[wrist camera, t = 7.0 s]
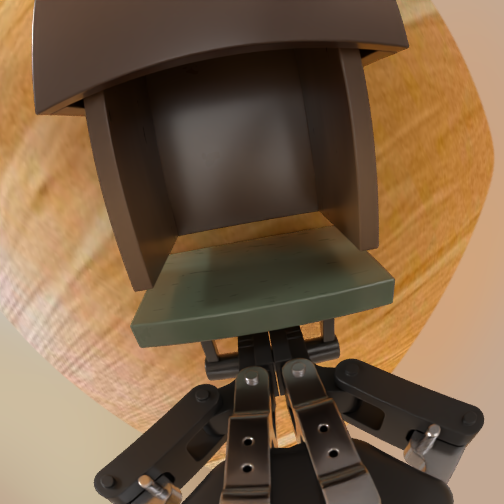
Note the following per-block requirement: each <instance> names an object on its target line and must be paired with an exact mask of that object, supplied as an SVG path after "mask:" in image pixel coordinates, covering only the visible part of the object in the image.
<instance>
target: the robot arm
mask: <svg viewBox="0 0 504 504" xmlns="http://www.w3.org/2000/svg"><path fill="white" fill-rule="evenodd" d="M269 334H270V339H271V345H272V351H273V356H274V362H275V367H276V373H277V378H278V384H279V390H280V395H285V398H286V403H287V409H288V413H289V416H290V419H291V423H292V426H293V430H294V433H295V436H296V440H297V445H295V446H292V447H290V448H278V442H277V423H276V409H275V408H276V401H275V397H276V396H279V392H278V387H277V381H276V375H275V369H274V364H273V358H272V352H271V346H270V341H269V335H268V331H267V332H262V333H256V334H250V335H244V336H238V358H239V373H238V374H237V376H236V379H235V380H234V381H233V382H231V383H230V384H228V385H226V386H223V387H221V388H218V389H217V388H216V387H215V386H213V385H210V384H202V385H198V386H196V387H194V388H193V389H192V390H191V391H190V392H188V393H187V394H186V395H185V396H184V397H183V398H182V399H181V400H180V401H179V402H178V403H177V404H176V405H175V406H174V407H173V408H171V409H170V410H169V411H168V412H167V413H166V414H165V415H164V416H163V417H162V418H161V419H159V420H158V421H157V422H156V423H155V424H154V425H153V426H152V427H151V428H150V429H148V430H147V431H146V432H145V433H144V434H143V435H142V436H141V437H139V438H138V439H137V440H136V441H135V442H134V443H133V444H131V445H130V446H129V447H128V448H127V449H126V450H124V451H123V452H122V453H121V454H120V455H119V456H117V457H116V458H115V459H114V460H113V461H111V462H110V463H109V464H108V465H107V466H105V467H104V468H103V469H102V470H101V471H99V472H98V473H97V475H96V476H95V479H94V487H95V489H96V491H97V492H98V493H99V494H100V495H101V496H103V497H105V498H106V499H108V500H109V501H110V502H111V503H113V504H180V503H181V501H182V493H181V491H180V489H181V488H182V487H183V486H184V485H185V484H186V483H187V482H188V481H189V480H190V479H191V478H192V477H193V476H194V475H195V474H196V473H197V472H198V471H199V470H200V469H201V468H202V467H203V466H204V465H205V464H206V463H207V462H208V461H209V460H210V459H211V457H212V456H213V455H214V454H215V453H216V452H217V451H218V450H219V449H220V448H221V447H222V445H223V444H224V443H225V442H226V441H227V446H226V459H225V461H223V462H221V463H220V464H218V465H217V466H216V467H215V468H214V469H213V470H212V471H211V472H210V473H209V474H208V475H207V476H206V477H205V479H204V480H203V481H202V482H201V483H200V484H199V485H198V486H197V487H196V489H195V490H194V491H193V492H192V493H191V494H190V495H189V496H188V497H187V498H186V499H185V501H183V502H182V504H453V502H454V500H453V495H452V492H451V490H450V488H449V487H448V485H447V483H448V481H449V479H450V478H451V476H452V474H453V472H454V470H455V468H456V466H457V464H458V462H459V460H460V458H461V456H462V454H463V452H464V450H465V448H466V447H467V445H468V444H469V443H470V442H471V441H472V439H473V438H474V437H475V436H476V434H477V433H478V432H479V431H480V429H481V428H482V426H483V424H484V416H483V413H482V411H481V410H480V409H479V408H477V407H476V406H473V405H470V404H467V403H465V402H462V401H459V400H456V399H454V398H450V397H448V396H446V395H443V394H440V393H438V392H435V391H433V390H430V389H427V388H425V387H422V386H420V385H417V384H415V383H412V382H410V381H408V380H405V379H403V378H400V377H398V376H395V375H393V374H391V373H388V372H386V371H384V370H381V369H379V368H377V367H374V366H372V365H370V364H367V363H365V362H363V361H361V360H358V359H346V360H344V361H342V362H340V363H339V364H338V365H337V366H336V368H330V367H321V366H318V365H316V364H314V363H313V362H312V361H311V359H310V357H309V354H308V351H307V348H306V345H305V342H304V339H303V335H302V332H301V329H300V326H294V327H289V328H284V329H278V330H273V331H269ZM343 420H344V421H346V422H348V423H350V424H352V425H354V426H355V427H357V428H359V429H361V430H363V431H365V432H367V433H369V434H371V435H373V436H375V437H377V438H379V439H381V440H383V441H385V442H387V443H389V444H391V445H393V446H396V447H398V448H400V449H402V450H404V458H405V460H406V462H407V463H409V464H410V465H412V466H413V467H412V466H410V465H408V464H406V463H404V462H402V461H400V460H398V459H396V458H394V457H392V456H391V455H389V454H387V453H385V452H383V451H381V450H379V449H377V448H376V447H374V446H372V445H370V444H369V443H367V442H364V441H362V440H358V439H353V438H351V437H350V434H349V432H348V430H347V428H346V425H345V423H344V421H343Z"/></svg>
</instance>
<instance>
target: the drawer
mask: <svg viewBox="0 0 504 504" xmlns="http://www.w3.org/2000/svg"><path fill="white" fill-rule="evenodd" d="M83 100H84V107H85V113H86V119H87V125H88V131H89V136H90V142H91V147H92V151H93V156H94V161H95V165H96V170H97V174H98V178H99V182H100V186H101V190H102V194H103V198H104V201H105V205H106V208H107V212H108V215H109V219H110V222H111V226H112V229H113V232H114V235H115V238H116V241H117V245H118V248H119V251H120V253H121V256H122V259H123V262H124V265H125V268H126V271H127V273H128V276H129V279H130V281H131V284H132V287H133V289H134V291H135V292H136V291H142V290H147V291H146V293H145V295H144V297H143V299H142V301H141V303H140V305H139V307H138V310H137V312H136V314H135V316H134V318H133V320H132V323H131V325H130V327H131V329H132V332H133V334H134V336H135V338H136V340H137V342H138V344H139V346H140V347H141V348H146V347H157V346H167V345H177V344H186V343H194V342H201V345H202V348H203V350H204V353H205V356H206V357H205V370H206V374H207V377H208V379H209V380H210V381H214V380H222V379H230V378H236V376H237V374H238V373H239V358H238V352H233V353H226V354H219V352H218V349H217V346H216V343H215V340H217V339H224V338H231V337H237V336H244V335H250V334H256V333H262V332H267V331H273V330H278V329H284V328H289V327H294V326H299V325H304V324H309V323H314V322H318V321H321V336H320V337H316V338H311V339H306V340H304V342H305V345H306V348H307V351H308V354H309V357H310V359H311V361H312V362H313V363H314V364H316V363H320V362H325V361H329V360H333V359H337V358H339V356H340V348H339V343H338V339H337V337H336V335H335V334H334V318H336V317H341V316H345V315H349V314H353V313H357V312H361V311H365V310H369V309H373V308H377V307H380V306H384V305H388V304H391V303H392V302H393V295H394V285H395V279H394V277H393V276H392V275H391V274H390V273H389V272H388V271H387V270H386V269H385V268H384V267H383V266H382V265H381V264H380V263H379V262H378V261H377V260H376V259H375V258H374V257H373V256H372V255H371V254H370V253H369V252H367V251H366V250H370V249H375V248H378V246H379V214H378V186H377V170H376V157H375V146H374V136H373V128H372V120H371V112H370V105H369V99H368V92H367V87H366V81H365V75H364V70H363V65H362V60H361V56H360V51H359V49H356V48H294V49H279V50H268V51H258V52H250V53H242V54H235V55H229V56H223V57H217V58H212V59H207V60H202V61H197V62H193V63H188V64H184V65H180V66H176V67H172V68H168V69H165V70H161V71H158V72H154V73H151V74H147V75H144V76H141V77H138V78H135V79H132V80H129V81H126V82H123V83H120V84H118V85H115V86H112V87H110V88H107V89H105V90H102V91H100V92H97V93H95V94H92V95H90V96H88V97H85V98H83ZM316 211H319V212H320V213H322V214H323V215H324V216H325V217H326V218H327V219H328V220H329V221H330V222H331V223H332V224H333V226H327V227H321V228H316V229H310V230H304V231H298V232H292V233H287V234H281V235H275V236H269V237H264V238H258V239H253V240H247V241H241V242H236V243H230V244H225V245H219V246H214V247H208V248H203V249H197V250H192V251H187V252H181V253H176V254H171V255H169V254H170V252H171V250H172V248H173V246H174V244H175V242H176V240H177V238H178V236H181V235H186V234H191V233H197V232H202V231H207V230H212V229H218V228H223V227H228V226H234V225H239V224H245V223H251V222H256V221H262V220H268V219H273V218H279V217H285V216H291V215H297V214H303V213H310V212H316ZM271 352H272V358H273V364H274V369H275V372H276V367H275V362H274V356H273V351H272V346H271Z"/></svg>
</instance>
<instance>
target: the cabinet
mask: <svg viewBox="0 0 504 504" xmlns="http://www.w3.org/2000/svg"><path fill="white" fill-rule="evenodd" d="M294 48H356V49H359V51H360V56H361V60H362V65H363V67H364V66H366V65H368V64H371V63H373V62H375V61H378V60H380V59H383V58H385V57H388V56H390V55H393V54H395V53H397V52H399V51H402V50H405V49H407V48H409V43H408V40H407V36H406V32H405V28H404V25H403V21H402V18H401V15H400V11H399V8H398V5H397V2H396V0H35V2H34V13H33V27H32V76H33V91H34V102H35V111H36V114H37V115H66V116H86V113H85V107H84V100H83V98H85V97H88V96H90V95H92V94H95V93H97V92H100V91H102V90H105V89H107V88H110V87H112V86H115V85H118V84H120V83H123V82H126V81H129V80H132V79H135V78H138V77H141V76H144V75H147V74H151V73H154V72H158V71H161V70H165V69H168V68H172V67H176V66H180V65H184V64H188V63H193V62H197V61H202V60H207V59H212V58H217V57H223V56H229V55H235V54H242V53H250V52H258V51H268V50H279V49H294Z"/></svg>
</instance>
